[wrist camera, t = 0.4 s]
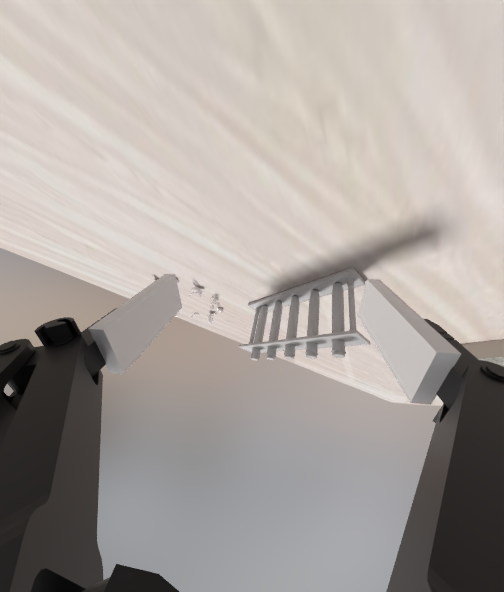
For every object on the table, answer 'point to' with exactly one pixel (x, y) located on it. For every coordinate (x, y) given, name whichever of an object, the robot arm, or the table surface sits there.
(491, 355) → the topographic model
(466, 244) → the table surface
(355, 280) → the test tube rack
